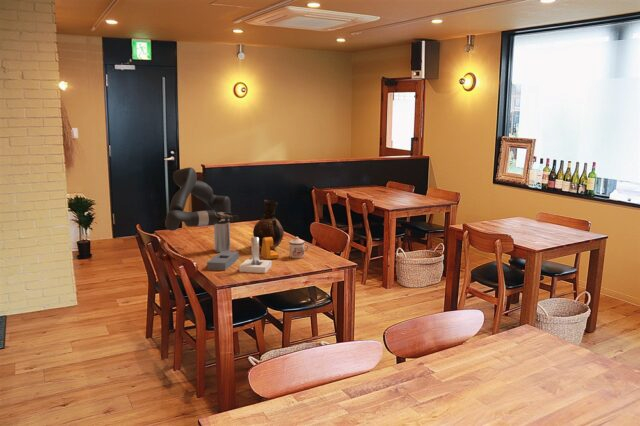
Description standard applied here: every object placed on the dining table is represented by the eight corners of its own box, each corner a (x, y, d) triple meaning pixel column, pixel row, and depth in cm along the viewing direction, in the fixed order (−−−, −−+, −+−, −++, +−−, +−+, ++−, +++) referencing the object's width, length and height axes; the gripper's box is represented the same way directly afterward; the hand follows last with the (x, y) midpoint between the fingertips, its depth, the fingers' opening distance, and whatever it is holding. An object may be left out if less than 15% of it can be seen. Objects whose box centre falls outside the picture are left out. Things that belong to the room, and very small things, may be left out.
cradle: (246, 264, 313) (246, 259, 313) (271, 265, 311) (271, 260, 311) (239, 271, 300) (239, 266, 299) (265, 273, 298) (265, 267, 297)
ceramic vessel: (247, 246, 353) (247, 199, 347) (272, 243, 362) (272, 196, 357) (263, 254, 335) (263, 204, 330) (289, 250, 345) (289, 201, 339)
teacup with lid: (292, 259, 324) (292, 239, 322) (286, 255, 332) (286, 236, 330) (311, 257, 329) (311, 237, 327) (305, 253, 337) (305, 234, 335)
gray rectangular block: (221, 257, 327) (221, 251, 326) (238, 258, 325) (238, 251, 324) (207, 269, 303) (207, 262, 303) (225, 270, 302) (225, 263, 301)
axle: (250, 268, 306) (250, 237, 303) (257, 267, 308) (256, 236, 305) (253, 270, 303) (253, 239, 300) (260, 269, 305) (260, 238, 302)
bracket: (279, 259, 325) (279, 238, 323) (267, 260, 322) (267, 239, 320) (273, 254, 335) (273, 234, 332) (261, 255, 332) (261, 235, 330)
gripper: (210, 213, 280) (241, 211, 288) (200, 208, 292) (230, 206, 300) (210, 228, 281) (240, 225, 289) (200, 222, 293) (230, 220, 301)
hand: (235, 216), depth 295 cm, fingers open, 8 cm apart
